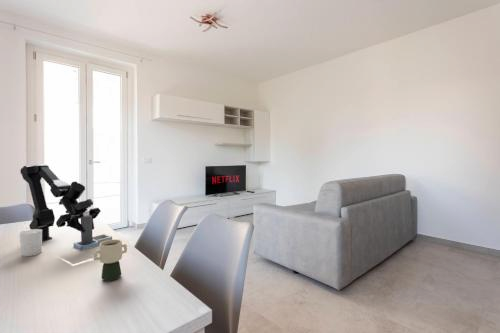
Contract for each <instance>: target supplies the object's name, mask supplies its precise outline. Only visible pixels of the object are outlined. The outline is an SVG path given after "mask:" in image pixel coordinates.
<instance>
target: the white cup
mask: <svg viewBox="0 0 500 333" xmlns="http://www.w3.org/2000/svg"><path fill="white" fill-rule="evenodd" d="M18 235H19V236H18V237H19V244H20V250H21V256H22V257H31V256H36V255H39V254H40V253H42V246H43V245H42V244H43V241H42V230H41V229H28V230H23V231H21V232H19V233H18Z"/></svg>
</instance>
